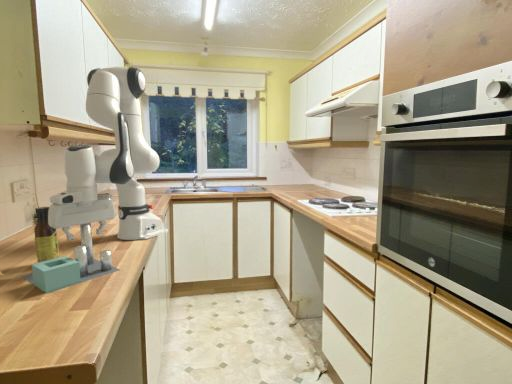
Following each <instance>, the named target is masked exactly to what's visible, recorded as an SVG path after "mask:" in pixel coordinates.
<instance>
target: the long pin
mask: <svg viewBox="0 0 512 384" xmlns="http://www.w3.org/2000/svg"><path fill="white" fill-rule="evenodd" d="M79 229H80V242H81V243H80V245H81V246H82V245H84V246H86V251H87V263H88V265H92V264H94V259H95V258H94V248H93V236H92V234H93V233H92V223H87V224H81V225H79Z"/></svg>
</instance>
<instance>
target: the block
mask: <svg viewBox="0 0 512 384" xmlns="http://www.w3.org/2000/svg"><path fill="white" fill-rule="evenodd" d="M31 271H32V272H31V273H32V274H33V283H34V285H33V286H35V287H36V286H37V287H36V288H37V289H39V290H40V291H42V292H44V293H45V294H49V293H48V292H50V293H52V292H51V291H54V290H57V289H60V288H63V287H66V286H69V287H71V286H70V285H72V286H74V285H73V284H75V285H77V284H76V283H78V284H80V283H79V282H81V278H80V266H79V262H78V261H76V260H75V259H73V258H71V257H69V256H67V255H64V256H59V258H55V259H51V260H47V261H43V262H39V263H38V262H36V263H32V264H31ZM66 288H67V287H66ZM63 289H64V288H63ZM60 290H61V289H60ZM57 291H58V290H57ZM54 292H55V291H54Z"/></svg>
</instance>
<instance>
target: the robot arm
mask: <svg viewBox="0 0 512 384" xmlns="http://www.w3.org/2000/svg"><path fill="white" fill-rule="evenodd" d="M86 81H87V86H88V87H87V93H86V99H85V111H86V114H87V116H88V117H89V118H90V119H91V120H92V121H93V122H95V123H96V124H98V125H100V126H102V127H105V128H108V129H110V130H112V131H113V133H114V140H115V143H114V144H115V148H112V149H107V150H104V151H102V153H101V154H100V155H97V154H96V153H94V152H95V151H94V149H93V146H91V145H89V144H88V145H87V144H84V145H83V144H82V145H80V144H79V145H72V146H69V147H67V148H66V150H65V155H64V173H65V176H66V186H65V189H66V190H64V191H61V192H60V193H57V194H53V195H51V196H50V197H49V202H50V203H51V205H49V206H48V207H49V210H48V224H49V226H50V227H52V228H54V229H56V230H58V229H61V231H62V232H63V233H64V234H65V235H66V236H65V237H66V240H67V241H73V240H75V238H74V236H75V235H74V234H73V233H70V227H74V226H80V225H81V224H87V223H91V224H93V223H98V224H99V225H98V228H95V232H96V235H98V236H99V235H103V234H104V227H105V226H106V224H107V223H106V222H107V221H110V220H114V219H116V208H115V207H116V206H115V204H114V203H115V198H114V195H113V194H111V193H109V192H105V193H98V184H115V186H116V190H117V196H118V206H117V208H118V209H117V210H118V212H117V213H118V218H119V224H118V232H117V237H116V238H117V239H119V240H124V241H132V240H148V239H151V238H154V237H157V236H160V235H162V234H166V233H169V228H167V227H164V223H163V220H162V218H161V217H159V216H157V215H155V214H154V213H153V212H152V211H150V210H153V209H154V208H155V206H154V204H151V203H149V204H147V202H146V201H147V200H146V189H145V187H144V185H143V184H142V183H140V182H138V181H137V180H135V178H134V174H135V175H136V174H139V175H142V174H143V175H144V174H151V173H155V172H156V171H157V170H158V168H159V167H160V164H161V163H160V162H161V161H160V156H159V154H158V153H157V151H155V150H154V149H153V148H152V147H151V146H150V145H149V143H148V142H147V141H146V139H145V135H144V133H143V124H142V109H141V103H140V97H141V96H142V95H143V94H144V91H145V90H146V86H147V85H146V84H147V83H146V78H145V75H144V72H143V71H142V70H141V69H140V68H137V67H133V66H130V67H125V66H113V67H112V66H111V67H104V68H101V67H99V68H98V67H97V68H94V69H91V70H90V71H89V72H88V74H87V78H86Z"/></svg>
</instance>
